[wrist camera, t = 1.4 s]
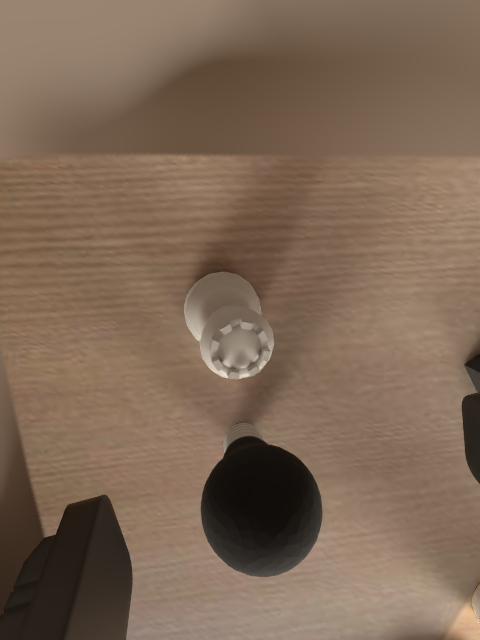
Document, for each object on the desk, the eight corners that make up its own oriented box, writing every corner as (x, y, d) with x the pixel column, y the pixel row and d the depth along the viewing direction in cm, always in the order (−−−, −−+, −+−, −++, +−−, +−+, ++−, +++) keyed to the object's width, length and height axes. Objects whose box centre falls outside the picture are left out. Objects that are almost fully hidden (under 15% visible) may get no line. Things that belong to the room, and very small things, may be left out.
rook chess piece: (268, 327, 26) (306, 377, 18) (199, 354, 26) (209, 416, 18) (243, 259, 24) (274, 281, 17) (171, 286, 24) (168, 322, 17)
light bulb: (285, 388, 27) (344, 486, 17) (283, 468, 28) (337, 599, 19) (193, 394, 26) (202, 500, 17) (196, 476, 28) (206, 617, 18)
